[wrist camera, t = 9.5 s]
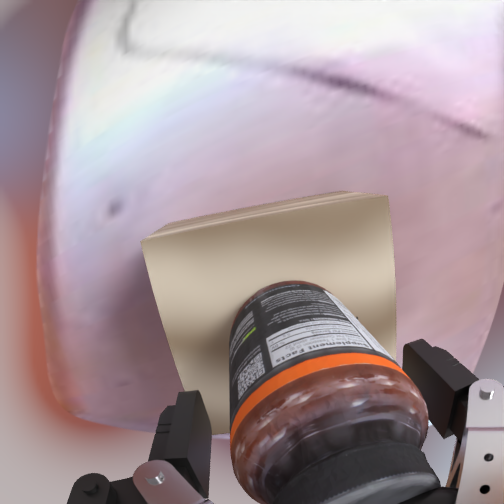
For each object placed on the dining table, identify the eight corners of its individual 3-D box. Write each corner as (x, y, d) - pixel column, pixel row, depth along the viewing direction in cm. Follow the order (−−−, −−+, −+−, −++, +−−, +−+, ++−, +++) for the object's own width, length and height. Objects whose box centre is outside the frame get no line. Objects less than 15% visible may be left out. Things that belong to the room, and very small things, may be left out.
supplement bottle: (331, 382, 17) (412, 552, 6) (224, 377, 16) (222, 579, 5) (356, 281, 16) (516, 421, 4) (236, 269, 15) (247, 465, 4)
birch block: (168, 223, 21) (140, 241, 15) (342, 190, 22) (387, 195, 15) (208, 375, 24) (201, 435, 17) (357, 344, 24) (394, 394, 17)
